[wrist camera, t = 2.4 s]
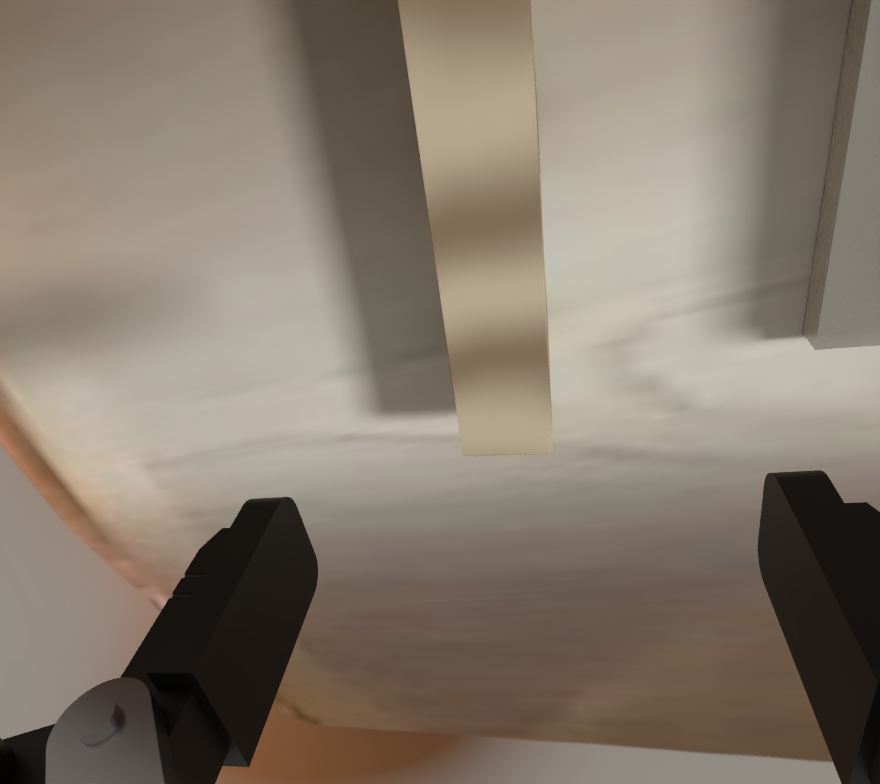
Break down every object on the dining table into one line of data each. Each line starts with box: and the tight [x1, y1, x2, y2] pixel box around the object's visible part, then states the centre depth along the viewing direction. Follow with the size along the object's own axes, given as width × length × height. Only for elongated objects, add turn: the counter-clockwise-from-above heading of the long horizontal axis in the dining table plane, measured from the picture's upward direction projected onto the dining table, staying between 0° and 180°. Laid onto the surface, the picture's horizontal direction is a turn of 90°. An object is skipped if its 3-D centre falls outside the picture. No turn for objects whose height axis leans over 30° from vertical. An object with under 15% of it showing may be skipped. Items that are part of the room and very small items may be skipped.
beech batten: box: [398, 0, 552, 456], centre depth 25 cm, size 22×4×5 cm, turn 8°
